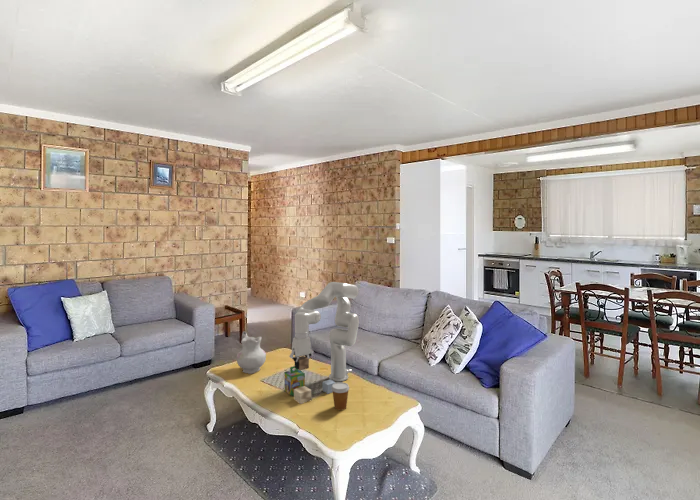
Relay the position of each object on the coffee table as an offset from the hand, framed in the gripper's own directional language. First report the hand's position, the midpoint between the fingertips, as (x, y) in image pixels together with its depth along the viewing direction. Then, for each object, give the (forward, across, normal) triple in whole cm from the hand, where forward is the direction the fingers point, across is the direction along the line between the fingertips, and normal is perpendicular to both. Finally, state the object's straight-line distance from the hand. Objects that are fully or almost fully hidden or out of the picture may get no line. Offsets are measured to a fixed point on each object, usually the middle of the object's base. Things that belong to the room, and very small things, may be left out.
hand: (301, 366), depth 212 cm
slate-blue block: (+19, -19, 0) cm, 27 cm away
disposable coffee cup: (+19, -12, +20) cm, 30 cm away
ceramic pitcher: (+19, +3, -61) cm, 64 cm away
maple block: (+19, -1, 0) cm, 19 cm away
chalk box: (+19, -3, -12) cm, 23 cm away
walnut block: (+1, 0, 0) cm, 1 cm away
